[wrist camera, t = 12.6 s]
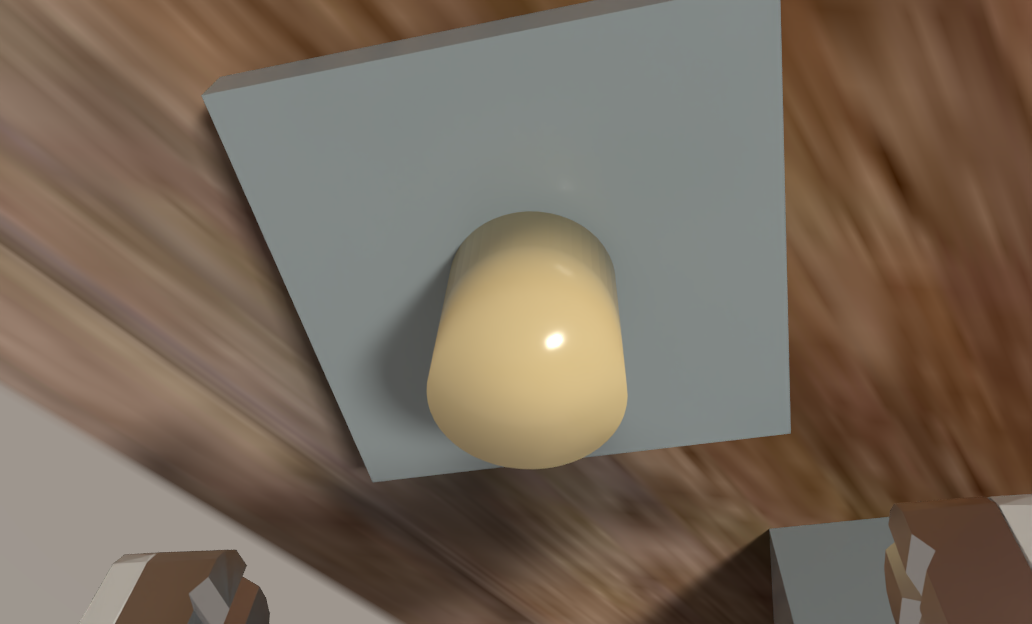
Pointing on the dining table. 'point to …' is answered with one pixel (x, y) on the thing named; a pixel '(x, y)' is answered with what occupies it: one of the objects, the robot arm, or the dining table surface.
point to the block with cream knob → (533, 230)
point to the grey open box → (831, 573)
